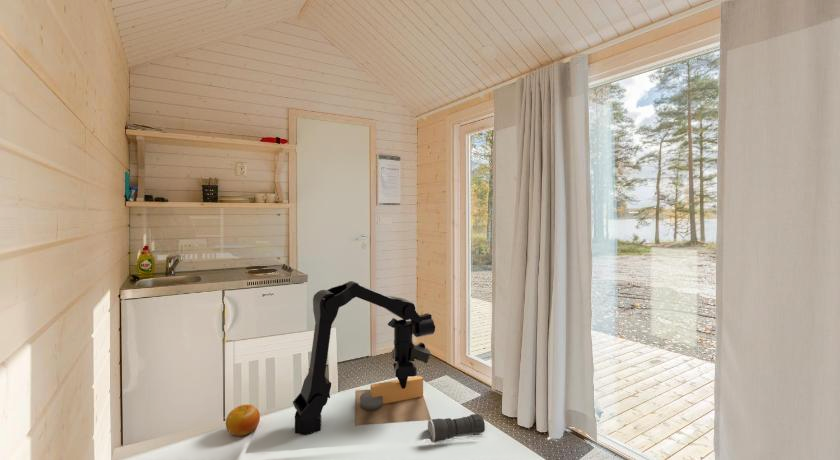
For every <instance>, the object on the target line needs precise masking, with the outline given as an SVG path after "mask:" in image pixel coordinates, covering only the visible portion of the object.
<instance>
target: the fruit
mask: <svg viewBox="0 0 840 460" xmlns="http://www.w3.org/2000/svg"><path fill="white" fill-rule="evenodd" d="M260 420H261V415H260V411H259V409H258V407H256V406H255V405H252V404H242V405H241V404H240V405H239V406H236V407H235V408H233V409H232V410H231V411H230V412H229V413H228V414H227V416H226V419H225V427H226V429H227V432H229V434H232V435H233V436H237V437H238V436H239V437H240V436H241V437H243V436H246V435H248V434H251V433H253V431H255V429H256V428H257V427H258V426H259V422H260Z"/></svg>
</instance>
